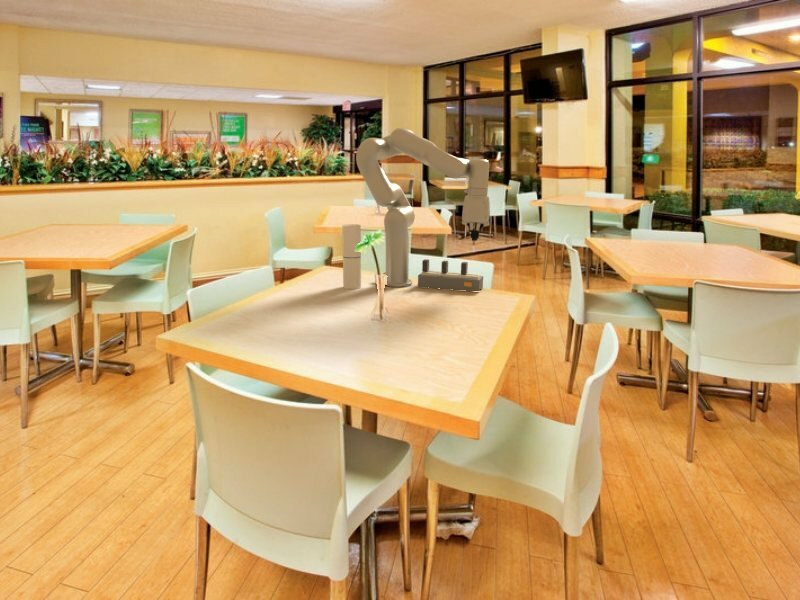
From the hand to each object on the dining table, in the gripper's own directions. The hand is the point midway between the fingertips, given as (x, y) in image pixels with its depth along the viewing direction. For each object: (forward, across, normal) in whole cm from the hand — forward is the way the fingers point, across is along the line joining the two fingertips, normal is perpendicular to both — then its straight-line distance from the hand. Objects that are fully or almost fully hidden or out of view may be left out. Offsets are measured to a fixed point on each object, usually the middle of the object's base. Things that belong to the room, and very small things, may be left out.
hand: (474, 240), depth 213 cm
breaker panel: (+20, -9, 0) cm, 22 cm away
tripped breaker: (+14, -3, 0) cm, 14 cm away
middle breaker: (+14, -11, 0) cm, 18 cm away
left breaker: (+14, -19, 0) cm, 24 cm away
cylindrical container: (+21, -46, -13) cm, 52 cm away
